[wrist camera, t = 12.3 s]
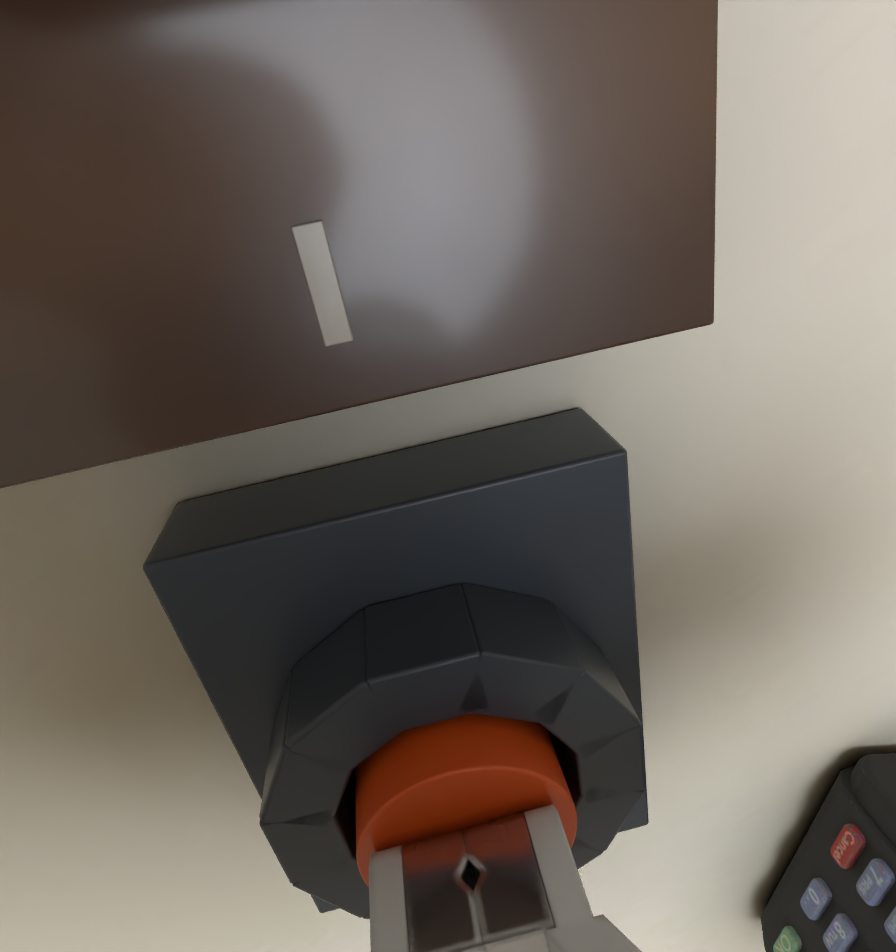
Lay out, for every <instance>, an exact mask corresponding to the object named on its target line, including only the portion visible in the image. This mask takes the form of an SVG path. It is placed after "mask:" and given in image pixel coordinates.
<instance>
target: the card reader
mask: <svg viewBox="0 0 896 952" xmlns="http://www.w3.org/2000/svg"><path fill="white" fill-rule="evenodd" d="M761 922H762V931H763V939H764V947H765V950H766V952H896V753H886V754H869V755H866V756H863V757H862V758H861V759H860V760H859V761H858V762H857V764H856V766H855V767H850V768H847V769H844V770H841V771H840V773H839V775H838V777H837V779H836V781H835V782H834V784H833V786H832V788H831V790H830V791H829V793H828V795H827V797H826V799H825V800H824V802H823V804H822V806H821V808H820V809H819V811H818V813H817V815H816V817H815V819H814V820H813V822H812V824H811V826H810V828H809V829H808V831H807V833H806V835H805V837H804V838H803V840H802V842H801V844H800V846H799V848H798V849H797V851H796V853H795V855H794V857H793V858H792V860H791V862H790V864H789V866H788V867H787V869H786V871H785V873H784V875H783V876H782V878H781V880H780V882H779V884H778V886H777V887H776V889H775V891H774V893H773V895H772V896H771V898H770V900H769V902H768V904H767V905H766V907H765V909H764V912H763V914H762V916H761Z"/></svg>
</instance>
